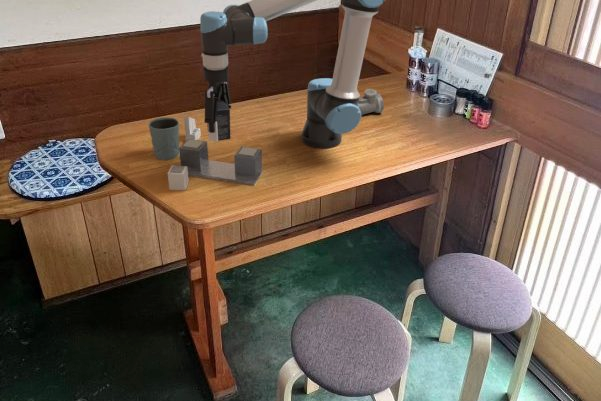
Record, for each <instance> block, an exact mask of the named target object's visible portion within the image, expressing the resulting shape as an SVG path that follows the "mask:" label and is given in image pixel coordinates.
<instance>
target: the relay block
mask: <svg viewBox="0 0 601 401" xmlns="http://www.w3.org/2000/svg"><path fill="white" fill-rule="evenodd" d="M167 179H168V188H169V191H170V190H171V191H186V189H187V187H188V185H189V182H190V181H189V180H190V179H189V175H188V169H187V166H181V165H171V166H170V168H169V170H168V172H167Z"/></svg>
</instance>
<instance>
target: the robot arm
mask: <svg viewBox="0 0 601 401" xmlns="http://www.w3.org/2000/svg"><path fill="white" fill-rule="evenodd" d="M316 1H317V0H250V1H247V2H244V3H242V4H240V5H238V4H230V5H227V6H226V7H225V8H224V9H223V11H222V12H221V11H214V10H213V11H206V12H203V13H202V14H201V15H200V27H199V32H200V40H201V55H200V57H201V58H202V65H203V68H202V72H203V73H202V74H203V79H204V80H205V82H208V83H209V84H208V90H206V89H205V90H204V98H205V99H204V124H205V123H206V124H207V123H208V127H207V131H208V130H209V132H208V140H209V142H216V143H218V142H219V141H218V129H217V122H216V115H217V107H218V101H220V100H223V101H224V102H225V103H226V105H227V106H228V107H229V109H230V110H231V109H232V105H231V104H232V102H231V96H230V88H229V76H230V74H229V73H230V72H229V66H228V65H229V53H228V52H229V51H228V47H230V46H233V47H234V46H245V45H246V46H247V45H248V46H249V45H255V46H256V45H260V44H264V43H265V42H266V41H268V40H267V39H268V35H269V33H268V24H267V22H268V21H271V20H273V19H275V18H278V17H280V16H283V15H285V14H286V13H287V14H288V13H290V12H292V11H294V10H297V9H300V8H302V7H304V6H307V5H309V4H312V3H314V2H316ZM341 2H342V3H341V7H342V9H343V10H344V17H343V23H342V26H341V33H340V38H339V42H338V43H339V44H338V48H337V54H336V59H335V64H334V68H333V74H332V78H329V77H328V78H327V77H325V78H314V79H311V80H310V81H309V82H308V83H307V85H308V86H307V91H306V92H307V94H306V95H307V96H306V98H307V99H306V100H307V101H306V103H307V104H306V120H305V123H304V126H303V128H302V131H301V137H300V138H301V141H302V143H304V144H305V145H306V146H308V147H312V148H317V149H330V148H335V147H337V146H339V145H340V144H341V142H342V138H343V136H342V135H343V134H344V135H345V134H348V133H350V132H352V131H353V130H355V129H356V128H357V127H358V125H359V124H360V122H361V119H362V115H361V111H360V109H359V107H358V102H359V98H360V92H359V91H358V84H359V81H360V75H361V70H362V66H363V60H364V56H365V52H366V49H367V48H366V47H367V43H368V39H369V34H370V29H371V24H372V20H373V17H374V16H375V15H376V14H378V13H379V11H380V6H381V5H383V3H384V2H386V0H342V1H341Z"/></svg>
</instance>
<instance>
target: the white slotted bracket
mask: <svg viewBox="0 0 601 401" xmlns="http://www.w3.org/2000/svg"><path fill="white" fill-rule="evenodd" d="M183 122H184V125H183V126H184V134H185V141H186V140H187V139H193V140H199V139H200V137H201V136H202V132H201V128H199V127H197V126H196V119H195V118H192V117H189V116H185V115H184V116H183Z"/></svg>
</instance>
